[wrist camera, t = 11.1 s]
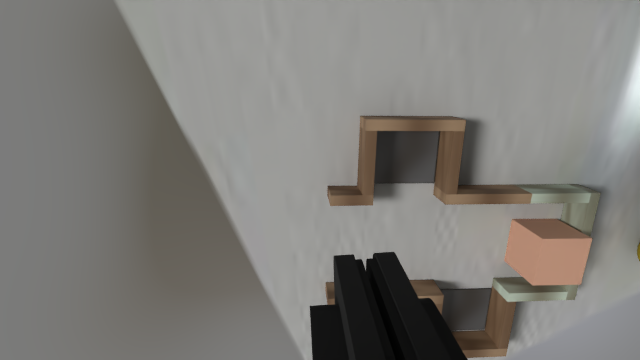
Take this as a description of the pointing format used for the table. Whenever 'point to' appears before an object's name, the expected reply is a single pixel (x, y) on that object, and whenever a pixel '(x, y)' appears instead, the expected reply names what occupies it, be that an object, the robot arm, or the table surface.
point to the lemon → (638, 251)
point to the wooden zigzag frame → (419, 167)
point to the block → (547, 251)
